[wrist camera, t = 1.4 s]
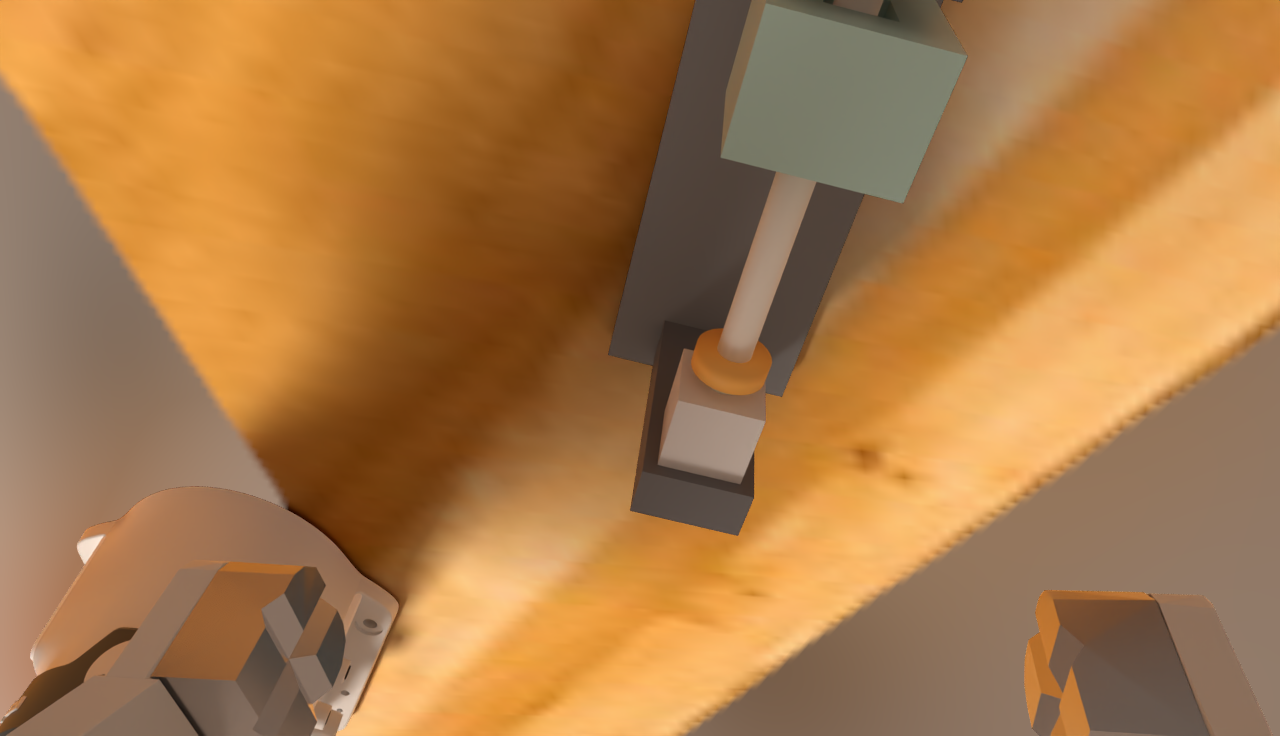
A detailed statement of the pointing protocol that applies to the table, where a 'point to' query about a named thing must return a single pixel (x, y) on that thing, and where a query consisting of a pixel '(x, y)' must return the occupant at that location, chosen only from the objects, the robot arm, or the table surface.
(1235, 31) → the table surface
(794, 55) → the sleeve
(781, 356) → the sliding block rail stand
